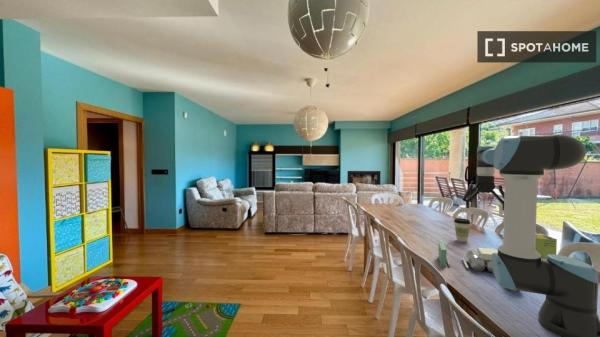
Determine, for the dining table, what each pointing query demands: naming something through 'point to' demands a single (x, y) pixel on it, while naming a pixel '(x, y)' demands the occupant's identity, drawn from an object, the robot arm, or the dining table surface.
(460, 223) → the coffee cup
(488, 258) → the slab
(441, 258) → the bar
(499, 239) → the dining table surface
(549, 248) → the protein box
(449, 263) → the cradle
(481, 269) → the roller bed
